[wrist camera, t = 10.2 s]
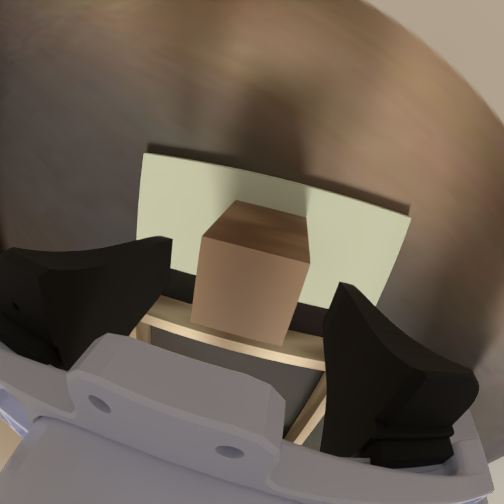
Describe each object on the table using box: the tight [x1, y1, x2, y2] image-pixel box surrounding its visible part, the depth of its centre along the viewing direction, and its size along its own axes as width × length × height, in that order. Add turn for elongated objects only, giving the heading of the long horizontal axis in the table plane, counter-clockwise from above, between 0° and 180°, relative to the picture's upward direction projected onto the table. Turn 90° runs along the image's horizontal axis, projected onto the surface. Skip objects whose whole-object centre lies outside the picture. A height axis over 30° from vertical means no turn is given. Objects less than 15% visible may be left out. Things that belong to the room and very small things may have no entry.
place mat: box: [137, 153, 411, 309], centre depth 17 cm, size 16×7×1 cm, turn 79°
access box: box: [129, 295, 327, 445], centre depth 21 cm, size 16×16×2 cm
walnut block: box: [191, 200, 310, 346], centre depth 14 cm, size 4×4×6 cm
